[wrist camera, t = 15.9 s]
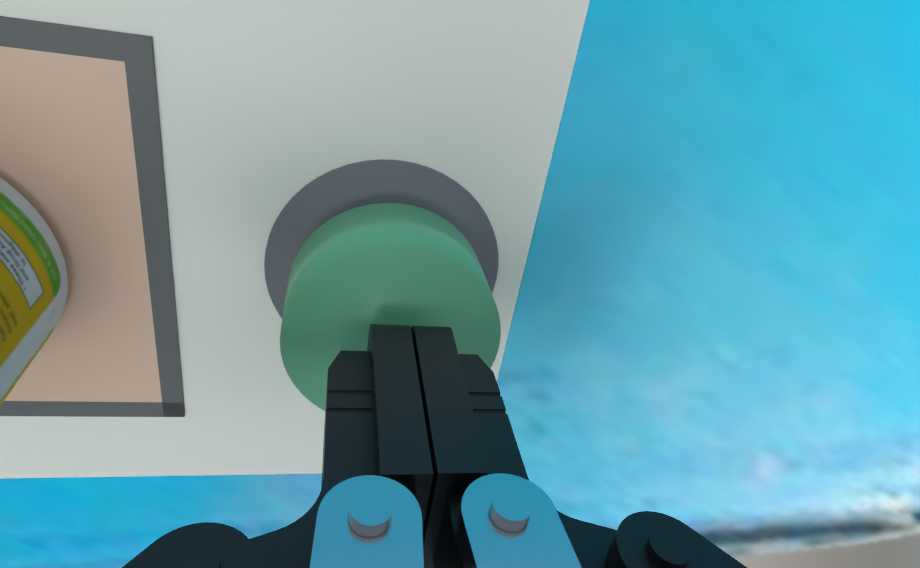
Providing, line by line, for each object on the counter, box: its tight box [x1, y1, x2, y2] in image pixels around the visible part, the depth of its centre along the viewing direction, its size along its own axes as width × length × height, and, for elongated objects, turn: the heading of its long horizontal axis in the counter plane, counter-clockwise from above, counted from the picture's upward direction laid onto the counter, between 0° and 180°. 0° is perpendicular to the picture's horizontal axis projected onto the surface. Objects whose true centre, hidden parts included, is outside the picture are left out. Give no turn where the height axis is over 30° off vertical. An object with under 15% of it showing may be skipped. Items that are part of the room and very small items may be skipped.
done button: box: [280, 203, 501, 411], centre depth 13 cm, size 4×4×2 cm
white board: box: [0, 0, 590, 478], centre depth 14 cm, size 18×14×1 cm
